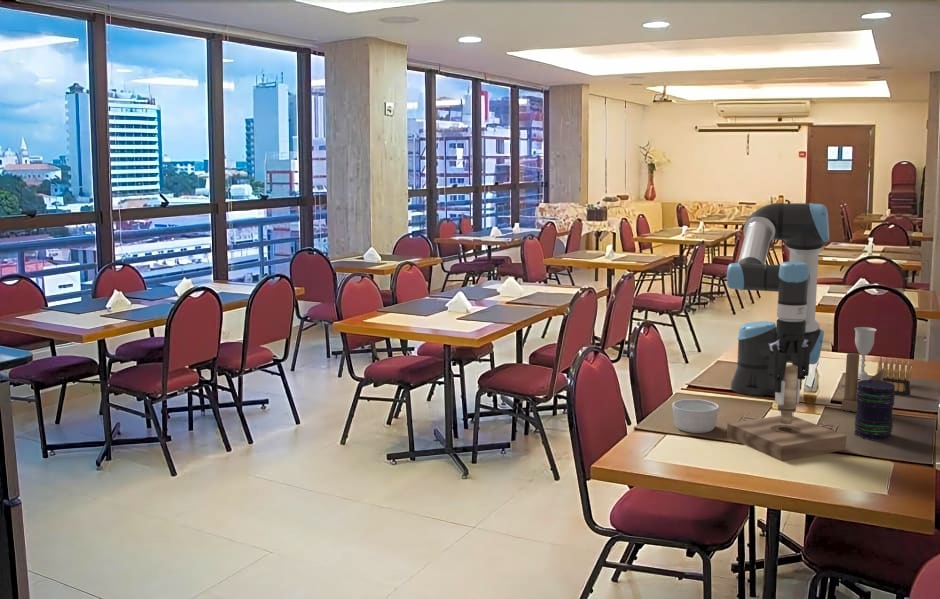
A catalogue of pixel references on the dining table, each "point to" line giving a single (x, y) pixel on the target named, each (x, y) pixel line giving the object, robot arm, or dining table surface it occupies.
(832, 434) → the walnut board
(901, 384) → the ammunition clip
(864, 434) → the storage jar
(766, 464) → the dining table surface
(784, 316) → the robot arm
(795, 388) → the beech leg
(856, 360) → the wooden peg block
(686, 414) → the ramekin
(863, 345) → the chalice
